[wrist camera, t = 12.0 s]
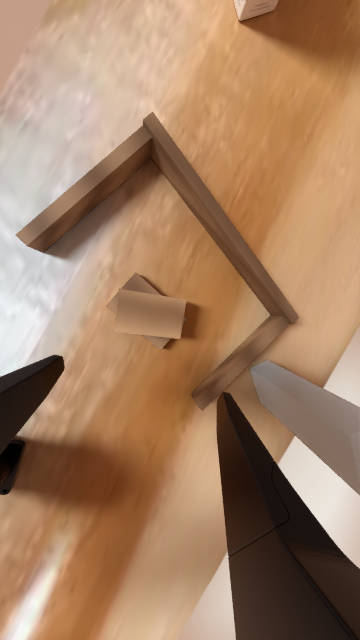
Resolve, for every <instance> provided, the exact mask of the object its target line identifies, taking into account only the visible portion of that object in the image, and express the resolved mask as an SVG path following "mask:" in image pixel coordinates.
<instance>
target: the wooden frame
mask: <svg viewBox="0 0 360 640" xmlns="http://www.w3.org/2000/svg"><path fill="white" fill-rule="evenodd" d="M151 158H152V159H153V161H154V162H155V163H156V165H157V166H158V167H159V169H160V170H161V171H162V173H163V174H164V175H165V177H166V178H167V179H168V181H169V182H170V183H171V184H172V186H173V187H174V188H175V190H176V191H177V192H178V194H179V195H180V196H181V198H182V199H183V200H184V202H185V203H186V204H187V205H188V207H189V208H190V209H191V211H192V212H193V213H194V215H195V216H196V217H197V219H198V220H199V221H200V223H201V224H202V225H203V227H204V228H205V229H206V230H207V232H208V233H209V234H210V236H211V237H212V238H213V240H214V241H215V242H216V244H217V245H218V246H219V248H220V249H221V250H222V251H223V253H224V254H225V255H226V257H227V258H228V259H229V261H230V262H231V263H232V265H233V266H234V267H235V269H236V270H237V271H238V273H239V274H240V275H241V276H242V278H243V279H244V280H245V282H246V283H247V284H248V286H249V287H250V288H251V290H252V291H253V292H254V294H255V295H256V296H257V298H258V299H259V300H260V301H261V303H262V304H263V305H264V307H265V308H266V309H267V311H268V312H269V313H270V316H269V317H268V318H267V319H266V320H265V321H264V322H263V323H262V324H261V325H260V326H259V327H258V328H257V329H256V330H255V331H254V332H253V333H252V334H251V335H250V336H249V337H248V338H247V339H246V340H245V341H244V342H243V343H242V344H241V345H240V346H239V347H238V348H237V349H236V350H235V351H234V352H233V353H232V354H231V355H230V356H229V357H228V358H227V359H226V360H225V361H224V362H223V363H222V364H221V365H220V366H219V367H218V368H217V369H216V370H215V371H214V372H213V373H212V374H211V375H210V376H209V377H208V378H207V379H206V380H205V381H204V382H203V383H202V384H201V385H200V386H199V387H198V388H197V389H196V390H195V391H193V392H192V393H191V394H192V397H193V399H194V401H195V403H196V405H197V406H198V407H199V408H200V409H201V410H202V411H203V410H204V409H205V408H206V407H207V406H208V405H209V404H210V403H211V402H212V401H213V400H214V399H215V398H216V397H217V396H218V395H219V394H220V393H221V392H222V391H223V390H224V389H225V388H226V387H227V386H228V385H229V384H230V383H231V382H232V381H233V380H234V379H235V378H236V377H237V376H238V375H239V374H240V373H241V372H242V371H243V370H244V369H245V368H246V367H247V366H248V365H249V364H250V363H251V362H252V361H253V360H254V359H255V358H256V357H257V356H258V355H259V354H260V353H261V352H262V351H263V350H264V349H265V348H266V347H267V346H268V345H269V344H270V343H271V342H272V341H273V340H274V339H275V338H276V337H277V336H278V335H279V334H280V333H281V332H282V331H283V330H284V329H285V328H286V327H287V326H288V325H289V324H294V323H295V322H296V321H297V320H298V319H299V316H298V315H297V313H296V312H295V311H294V309H293V308H292V306H291V305H290V304H289V302H288V301H287V299H286V298H285V297H284V295H283V294H282V292H281V291H280V290H279V288H278V287H277V285H276V284H275V283H274V281H273V280H272V278H271V277H270V276H269V274H268V273H267V271H266V270H265V269H264V267H263V266H262V264H261V263H260V262H259V260H258V259H257V257H256V256H255V255H254V253H253V252H252V250H251V249H250V248H249V246H248V245H247V243H246V242H245V241H244V239H243V238H242V236H241V235H240V234H239V232H238V231H237V229H236V228H235V227H234V225H233V224H232V222H231V221H230V219H229V218H228V217H227V215H226V214H225V212H224V211H223V210H222V208H221V207H220V205H219V204H218V203H217V201H216V200H215V198H214V197H213V196H212V194H211V193H210V191H209V190H208V189H207V187H206V186H205V184H204V183H203V182H202V180H201V179H200V177H199V176H198V175H197V173H196V172H195V170H194V169H193V168H192V166H191V165H190V163H189V162H188V161H187V159H186V158H185V156H184V155H183V154H182V152H181V151H180V149H179V148H178V147H177V145H176V144H175V142H174V141H173V140H172V138H171V137H170V135H169V134H168V133H167V131H166V130H165V128H164V127H163V126H162V124H161V123H160V121H159V120H158V118H157V117H156V116H155V114H154V113H153V112H152V113H150V114H149V115H148V116H147V117H146V118H145V119H143V126H142V127H140V128H139V129H138V130H137V131H136V132H135V133H133V134H132V135H131V136H130V137H129V138H128V139H126V140H125V141H124V142H123V143H122V144H121V145H119V146H118V147H117V148H116V149H115V150H114V151H112V152H111V153H110V154H109V155H108V156H107V157H106V158H104V159H103V160H102V161H101V162H100V163H99V164H97V165H96V166H95V167H94V168H93V169H92V170H90V171H89V172H88V173H87V174H86V175H85V176H83V177H82V178H81V179H80V180H79V181H78V182H76V183H75V184H74V185H73V186H72V187H71V188H69V189H68V190H67V191H66V192H65V193H64V194H62V195H61V196H60V197H59V198H58V199H57V200H55V201H54V202H53V203H52V204H51V205H50V206H48V207H47V208H46V209H45V210H44V211H43V212H41V213H40V214H39V215H38V216H37V217H36V218H35V219H33V220H32V221H31V222H30V223H29V224H28V225H26V226H25V227H24V228H23V229H22V230H21V231H19V232H18V233H17V234H16V236H17V237H18V238H19V239H20V240H21V241H22V242H23V243H24V244H26V245H27V246H29V247H31V248H33V249H35V250H38V251H40V252H42V253H43V252H45V251H46V250H47V249H48V248H49V247H50V246H51V245H52V244H54V243H55V242H56V241H57V240H58V239H59V238H60V237H62V236H63V235H64V234H65V233H66V232H67V231H68V230H70V229H71V228H72V227H73V226H74V225H75V224H76V223H78V222H79V221H80V220H81V219H82V218H83V217H84V216H86V215H87V214H88V213H89V212H90V211H91V210H92V209H94V208H95V207H96V206H97V205H98V204H99V203H100V202H102V201H103V200H104V199H105V198H106V197H107V196H108V195H110V194H111V193H112V192H113V191H114V190H115V189H116V188H118V187H119V186H120V185H121V184H122V183H123V182H124V181H126V180H127V179H128V178H129V177H130V176H131V175H132V174H134V173H135V172H136V171H137V170H138V169H139V168H140V167H142V166H143V165H144V164H145V163H146V162H147V161H148V160H150V159H151Z"/></svg>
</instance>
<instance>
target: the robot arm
mask: <svg viewBox="0 0 360 640" xmlns="http://www.w3.org/2000/svg"><path fill="white" fill-rule="evenodd" d="M64 367H65V366H64V360H63V357H62V356H59V355H52V356H50V357H47V358H45V359H42V360H40V361H38V362H35V363H33V364H30V365H28V366H26V367H23V368H21V369H18V370H16V371H13V372H11V373H9V374H6V375H4V376H1V377H0V495H6V494H8V493H9V492H10V491H11V489H12V488H13V485H14V481H15V478H16V475H17V471H18V468H19V465H20V462H21V458H22V455H23V452H24V448H25V443H24V442H23V441H16V440H12V439H13V438H14V437H15V436H16V434H17V433H18V432H19V431H20V429H21V428H22V427H23V426H24V424H25V423H26V422H27V421H28V419H29V418H30V417H31V416H32V414H33V413H34V412H35V411H36V409H37V408H38V407H39V406H40V404H41V403H42V402H43V401H44V399H45V398H46V397H47V395H48V394H49V392H50V391H51V389H52V388H53V386H54V385H55V383H56V382H57V380H58V379H59V377H60V376H61V374H62V373H63V371H64ZM217 443H218V454H219V464H220V475H221V485H222V496H223V506H224V516H225V527H226V537H227V548H228V556H229V558H228V559H229V570H230V580H231V590H232V601H233V611H234V622H235V632H236V640H360V569H359V568H358V567H357V566H356V565H355V564H354V563H353V562H351V561H350V560H349V558H347V556H346V555H345V554H344V553H343V552H342V551H341V550H340V549H339V548H338V546H337V545H336V544H335V543H334V541H333V540H332V539H331V538H330V537H329V535H328V534H327V532H326V531H325V530H324V528H323V527H322V526H321V524H320V523H319V522H318V520H317V519H316V518H315V516H314V515H313V514H312V513H311V511H310V510H309V508H308V507H307V506H306V505H305V503H304V502H303V501H302V499H301V498H300V496H299V495H298V494H297V492H296V491H295V490H294V488H293V487H292V486H291V484H290V483H289V481H288V480H287V479H286V477H285V476H284V474H283V473H282V471H281V470H280V468H279V467H278V465H277V464H276V462H275V461H273V458H272V456H271V455H270V453H269V452H268V450H267V449H266V447H265V446H264V444H263V443H262V441H261V440H260V438H259V437H258V435H257V434H256V432H255V431H254V429H253V428H252V426H251V425H250V423H249V422H248V420H247V419H246V417H245V416H244V414H243V413H242V411H241V410H240V408H239V407H238V405H237V403H236V402H235V400H234V399H233V397H232V396H231V394H230V393H227V392H222V393H221V395H220V397H219V399H218V401H217ZM18 446H20V447H18Z"/></svg>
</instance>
